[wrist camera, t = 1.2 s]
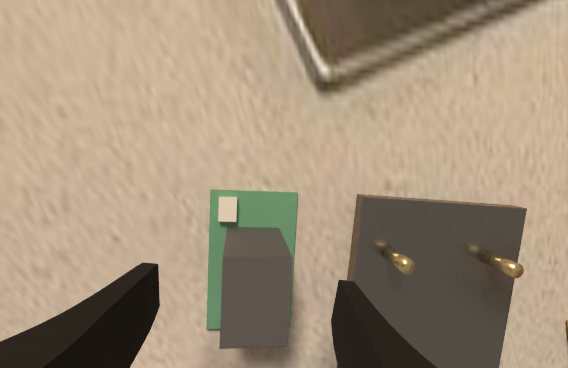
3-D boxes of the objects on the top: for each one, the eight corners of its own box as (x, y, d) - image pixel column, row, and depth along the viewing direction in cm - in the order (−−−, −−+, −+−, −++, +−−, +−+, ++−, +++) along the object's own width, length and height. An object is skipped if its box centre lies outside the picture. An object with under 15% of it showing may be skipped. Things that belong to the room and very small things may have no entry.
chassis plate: (474, 433, 27) (510, 478, 24) (328, 440, 26) (343, 488, 22) (513, 205, 25) (559, 215, 22) (357, 194, 23) (378, 203, 20)
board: (288, 322, 24) (306, 387, 18) (207, 324, 23) (194, 393, 17) (296, 192, 23) (318, 210, 17) (211, 189, 22) (199, 207, 16)
